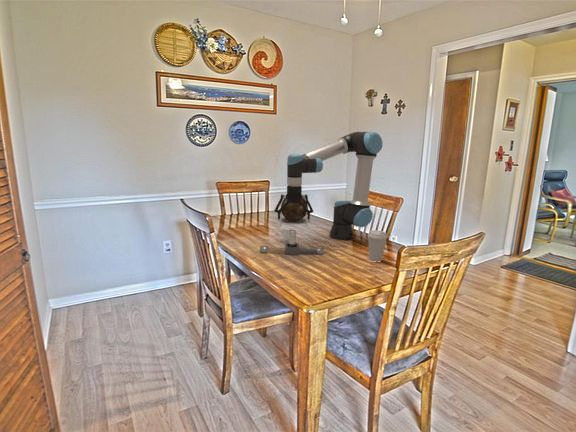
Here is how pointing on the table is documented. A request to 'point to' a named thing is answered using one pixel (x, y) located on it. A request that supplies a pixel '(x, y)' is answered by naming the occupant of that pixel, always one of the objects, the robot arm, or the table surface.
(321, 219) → the table surface
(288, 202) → the robot arm
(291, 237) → the link pin
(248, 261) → the table surface
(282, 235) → the cup
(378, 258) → the coffee cup
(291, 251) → the grey knobbed bar
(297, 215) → the decorative sphere
